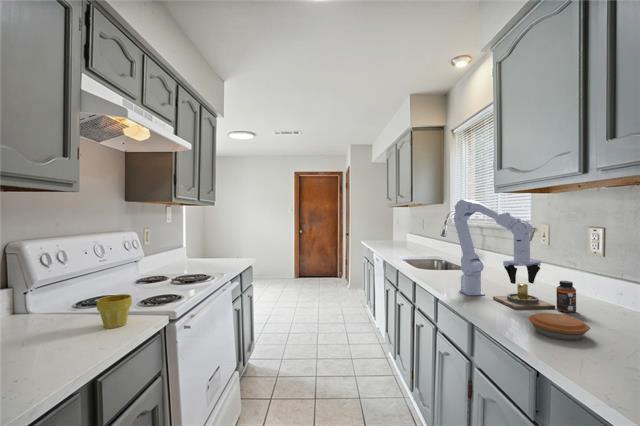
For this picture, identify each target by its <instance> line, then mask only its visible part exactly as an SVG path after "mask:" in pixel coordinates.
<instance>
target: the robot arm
mask: <svg viewBox="0 0 640 426" xmlns="http://www.w3.org/2000/svg"><path fill="white" fill-rule="evenodd" d="M454 210H455V211H454V217H453V222H454V225H455V228H456V234H457V237H458V240H459V244H460V249H461V252H462V256H461V258H460V262H461V263H460V270H461V272H462V274H461V276H460V289H459V290H458V291H459V292H461V293H463V294H465V295H467V296H486V294H485V293H484V292H482V277H481V276H482V271H483V270H484V263H483V262H482V260H481V258H480V256H479V255H478V254H477V253H476V250H475V247H474V243H473V239H472V235H471V232H470V228H469V223H468V220H469V218H470V217H472V215H474V214H475V213H480V214H481V215H482V214H483V215H484V216H487V217H489V218H490V219H494V221H495V223H496V224H497V225H499V226H500V227H503V228H504V229H506V230H508V231H511V233H512V235H513V260H502V261H503V262H502V263H503V266H504V270H505V271H506V273H507V276H508V278H509V281H510V283H511V284H513V285H515V284H516V283H517V280H516V279H517V278H516V277H517V276H516V275H517V270H518V267H523V266H525V267H526V269H527V270H526V271H527V280H528V283H529V284H534V283H535V279H536V277H537V274H538V273H539V271H540V270H541V267H540V266H542V265H541V263H542V261H540V260H531V239H530V238H531V236H530V235H531V233H532V232H533V231H532V230H533V226H532V225H531V223H529V221H526V220H522V219H521V218H520V217H519V218H518V217H515V216H513V215H511V213H510V212H498V211H497V210H494V209H493V208H490V207H489V206H487V205H486V204H484V203H483V202H479V201H476V200H474V199H460V200H458V201H457V202H456V204H455V206H454ZM516 266H517V267H516Z"/></svg>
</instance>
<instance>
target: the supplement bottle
mask: <svg viewBox="0 0 640 426" xmlns="http://www.w3.org/2000/svg"><path fill="white" fill-rule="evenodd" d="M558 284H559V285H558V286H557V287H556V291H555V292H556V310H558V311H559V312H562V313H568V314H572V313H573V314H574V313H576V312H577V289H576V288H575V287H574V286H573V285H574V283H573V281H569V280H559V283H558Z"/></svg>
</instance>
